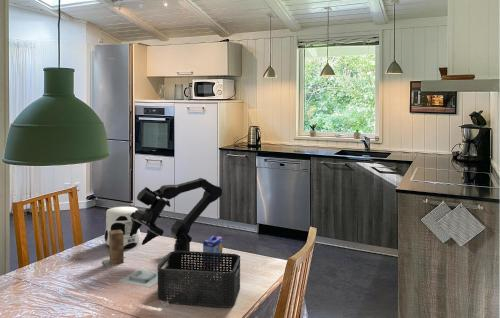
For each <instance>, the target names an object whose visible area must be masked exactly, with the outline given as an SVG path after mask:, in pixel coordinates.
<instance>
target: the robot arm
mask: <svg viewBox="0 0 500 318" xmlns="http://www.w3.org/2000/svg"><path fill="white" fill-rule="evenodd" d="M200 188H201V189H202V190H204V191H203V193H202V194H203V195H202V197H201V199H200V200H199V201H198V202H197V203H196V205H195V206H194V207H193V208H192V209H191V210H190V211H189V212H188V214H187V215H185V217H184V218H183V219H181V220H179V219H177V220H175V223H174V224H172V225H171V228H170V234H171V235H172V236H173V238H174V241H175V243H174V244H173V245H174V249H173V250H174V251H191V250H190V249H191V248H190V247H191V245H190V244H191V242H192V239H193V238H192V236H191V235H189V233H190V232H191V230H190V229H191V227H192V225H193V224H194V223H195V222H196V220H198V218H199V217H200V216H201V215H202V213H203V212H204V211H205V210H206V209H207V208H208V207H209V205H210V204H211V203H214V202H215V201H217V200H218V199H220V198H221V196H222V195H223V190H222V187H220V186H218V185H215V184H213V183H211V182H209V181H208V180H207V179H206V178H201V177H199V178H197V179H193V180H190V181H186V182H182V183H179V184H163V185H161V186H160V188H157V189H156V190H154V191H153V190H151V189H150V188H149V187H147V186H145V187H144V188H143V189H141V191H138V192H139V193H138V194H137V196H136V200H137V201H139V202H140V203H142V204H144V205H145V206H148V207H149V208H145V210H141V209H138V210H136V211H135V212H133V213H132V214H131V215H130V217H131V220H132V228H131V232H130V236H131V237H132V236H133V235H134V234H135V232H136V231H137V230H138V229H139V230H140V228H141V227H142V226H143V225H145V226H146V227H147V228H148V229H146V230H147V231H146V232H147V234H146V235H145V237H144V238H143V240H142V242H141V245H142V246H144V245H146V244H147V243H148V242H150V241H152V240H153V239H155V238H157V237H158V238H159V237H160V236H161V237H162V236H163V234H164V233H165V232H164V231H165V230H164V229H163V228H162V227H160V226H158V225H157V223H156V222H157V220H158V219H161V217H162V216H161V214H162V212H163V211H164V209H165V208H166V206H167V207H168V208H170V207H171V202H170V200H172V199H174V198H176V197H178V196H179V195H180V194H183V193H186V192H189V191H193V190H197V189H200ZM188 254H189V253H188Z"/></svg>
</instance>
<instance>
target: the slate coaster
mask: <svg viewBox="0 0 500 318" xmlns="http://www.w3.org/2000/svg"><path fill="white" fill-rule="evenodd" d="M125 258H126V256H124V259H125ZM102 264H104V267H105V268H106V269H108V268H109V267H111V266H113V265H112V264H111V263H110V258H107V259H103V260H102Z"/></svg>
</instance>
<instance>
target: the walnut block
mask: <svg viewBox="0 0 500 318" xmlns="http://www.w3.org/2000/svg"><path fill="white" fill-rule="evenodd" d="M108 247H109V249H108V250H109V253H108V254H109V259H110V263H111V264H112V265H111V266H113V265H118V264H123V263H125V261H124V259H125V258H124V257H125V255H124V254H125V253H124V252H125V251H124V248H125V247H123V231H122V230H112V231H109V246H108Z"/></svg>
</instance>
